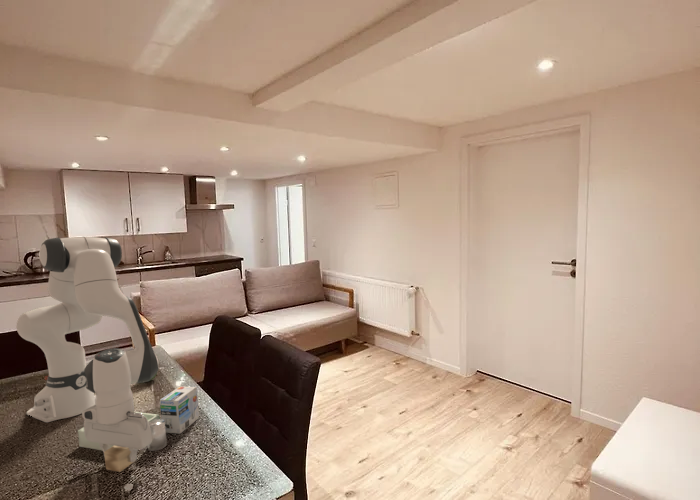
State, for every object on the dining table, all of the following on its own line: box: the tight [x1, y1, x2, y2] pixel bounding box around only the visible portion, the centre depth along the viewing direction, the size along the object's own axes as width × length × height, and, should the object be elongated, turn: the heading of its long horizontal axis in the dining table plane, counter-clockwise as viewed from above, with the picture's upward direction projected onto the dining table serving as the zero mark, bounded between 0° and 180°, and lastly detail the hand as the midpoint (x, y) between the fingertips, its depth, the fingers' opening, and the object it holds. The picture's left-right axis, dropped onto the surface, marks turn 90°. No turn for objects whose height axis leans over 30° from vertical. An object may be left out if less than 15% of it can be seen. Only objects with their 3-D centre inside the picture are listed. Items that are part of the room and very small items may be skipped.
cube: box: [103, 446, 137, 473], centre depth 109 cm, size 5×5×5 cm
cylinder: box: [147, 418, 168, 452], centre depth 118 cm, size 5×5×7 cm
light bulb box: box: [159, 385, 200, 434], centre depth 130 cm, size 11×7×11 cm, turn 168°
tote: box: [77, 410, 161, 451], centre depth 124 cm, size 18×14×5 cm
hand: (120, 458), depth 110 cm, fingers open, 7 cm apart
